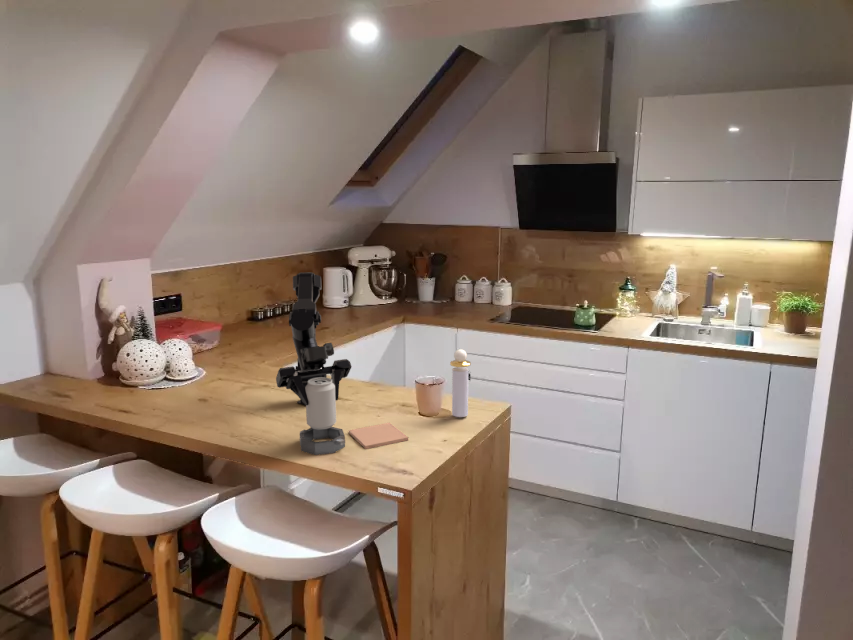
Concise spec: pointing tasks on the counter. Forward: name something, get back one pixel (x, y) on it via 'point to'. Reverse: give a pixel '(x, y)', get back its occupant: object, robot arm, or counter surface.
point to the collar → (322, 446)
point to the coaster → (378, 435)
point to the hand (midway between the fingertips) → (322, 402)
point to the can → (320, 403)
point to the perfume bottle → (460, 384)
